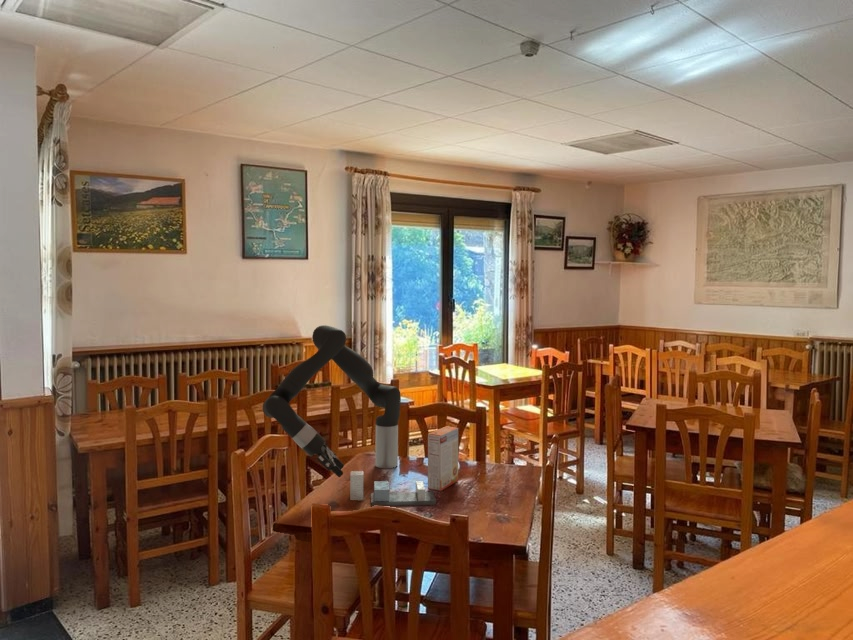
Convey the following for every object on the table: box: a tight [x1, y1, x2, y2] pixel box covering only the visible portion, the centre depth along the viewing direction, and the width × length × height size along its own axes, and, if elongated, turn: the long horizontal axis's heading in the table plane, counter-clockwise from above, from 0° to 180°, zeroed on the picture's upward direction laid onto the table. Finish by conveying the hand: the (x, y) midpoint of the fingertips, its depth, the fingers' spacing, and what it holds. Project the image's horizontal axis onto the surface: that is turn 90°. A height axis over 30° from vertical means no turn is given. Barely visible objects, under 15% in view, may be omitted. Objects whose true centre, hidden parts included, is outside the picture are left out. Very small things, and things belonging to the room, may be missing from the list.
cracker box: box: [427, 425, 459, 492], centre depth 236 cm, size 14×6×21 cm, turn 149°
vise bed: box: [370, 480, 437, 507], centre depth 219 cm, size 9×22×6 cm, turn 96°
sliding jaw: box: [373, 480, 390, 501], centre depth 218 cm, size 9×5×4 cm, turn 6°
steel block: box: [349, 470, 364, 501], centre depth 221 cm, size 4×4×9 cm
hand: (341, 471), depth 221 cm, fingers open, 8 cm apart
